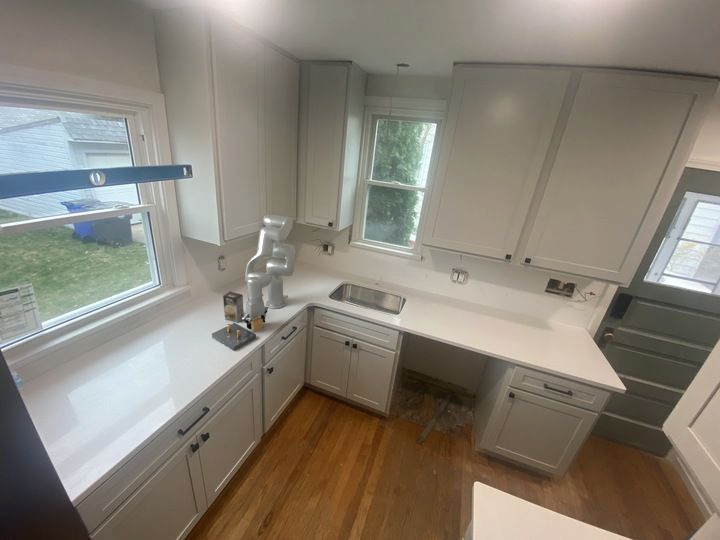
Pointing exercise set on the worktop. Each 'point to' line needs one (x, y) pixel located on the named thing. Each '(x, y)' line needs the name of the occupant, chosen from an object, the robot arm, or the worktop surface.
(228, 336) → the plate
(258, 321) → the tan cardboard cube
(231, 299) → the coffee box
